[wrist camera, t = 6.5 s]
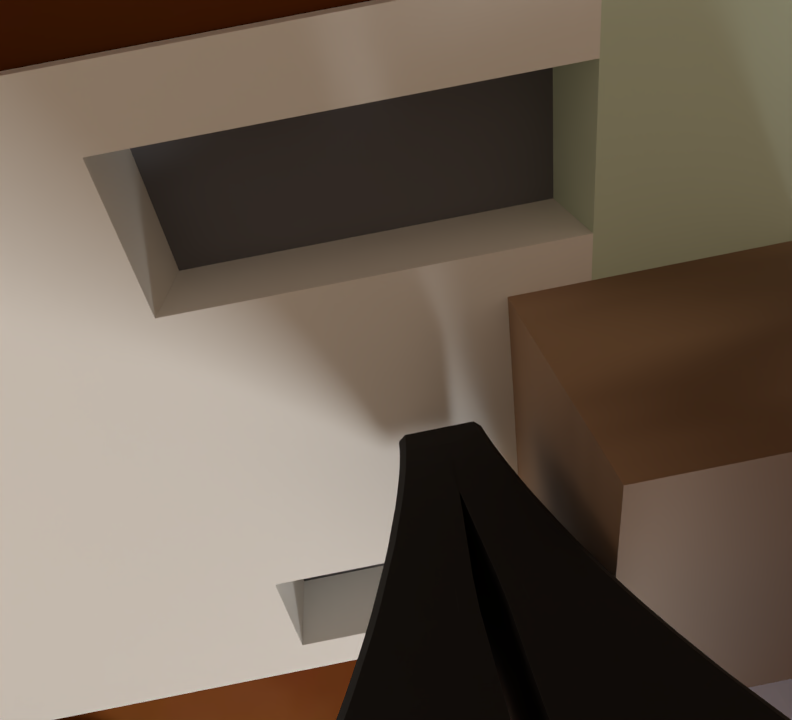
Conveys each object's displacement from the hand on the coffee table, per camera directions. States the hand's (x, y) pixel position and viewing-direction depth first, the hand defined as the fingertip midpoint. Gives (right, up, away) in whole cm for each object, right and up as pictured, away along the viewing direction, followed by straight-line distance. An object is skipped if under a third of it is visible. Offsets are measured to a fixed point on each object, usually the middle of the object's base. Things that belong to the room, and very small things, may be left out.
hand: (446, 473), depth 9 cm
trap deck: (-2, +1, +2) cm, 3 cm away
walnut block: (+3, +1, +1) cm, 4 cm away
